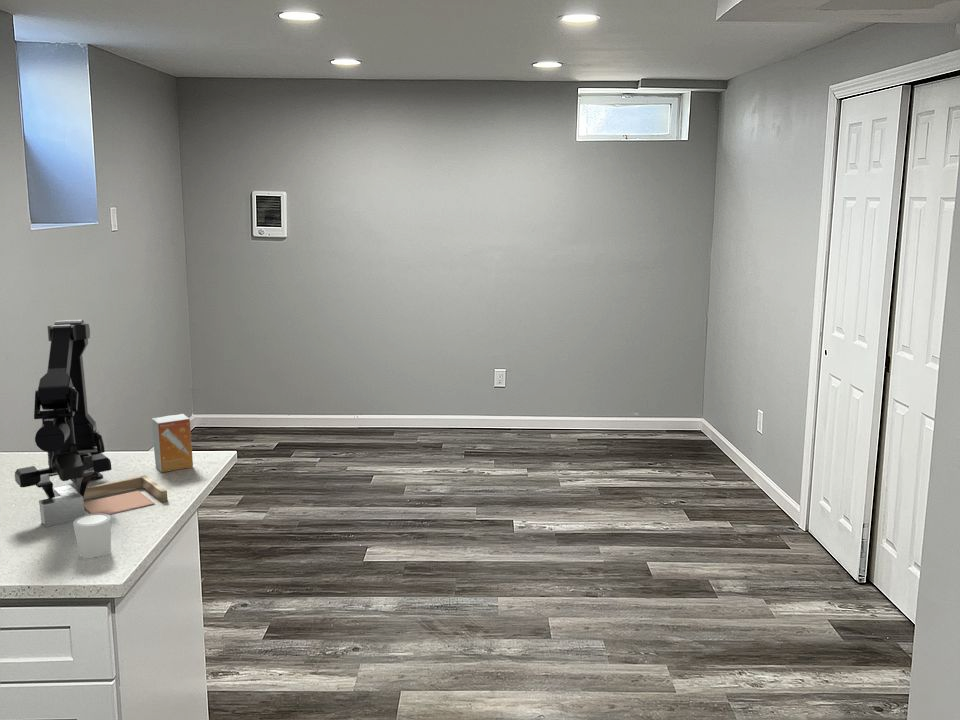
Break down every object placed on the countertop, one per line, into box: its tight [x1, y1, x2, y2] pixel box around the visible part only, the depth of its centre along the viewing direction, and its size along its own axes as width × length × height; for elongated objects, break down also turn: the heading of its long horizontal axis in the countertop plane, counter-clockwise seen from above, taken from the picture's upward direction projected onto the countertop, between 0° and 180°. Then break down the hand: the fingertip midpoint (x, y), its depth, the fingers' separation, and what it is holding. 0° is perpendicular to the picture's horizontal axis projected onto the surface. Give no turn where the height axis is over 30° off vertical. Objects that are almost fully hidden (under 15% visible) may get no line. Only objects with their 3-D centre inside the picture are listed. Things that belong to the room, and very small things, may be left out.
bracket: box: [38, 484, 85, 528], centre depth 197 cm, size 10×8×5 cm
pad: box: [83, 490, 155, 515], centre depth 205 cm, size 11×13×1 cm
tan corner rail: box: [74, 474, 169, 503], centre depth 207 cm, size 15×18×2 cm
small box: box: [151, 413, 194, 473], centre depth 230 cm, size 8×6×13 cm
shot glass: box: [72, 513, 112, 559], centre depth 177 cm, size 7×7×7 cm
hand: (67, 506), depth 200 cm, fingers open, 5 cm apart
